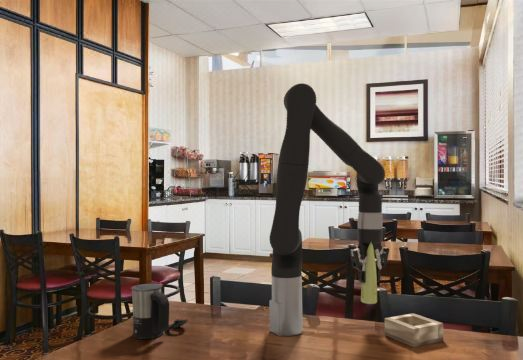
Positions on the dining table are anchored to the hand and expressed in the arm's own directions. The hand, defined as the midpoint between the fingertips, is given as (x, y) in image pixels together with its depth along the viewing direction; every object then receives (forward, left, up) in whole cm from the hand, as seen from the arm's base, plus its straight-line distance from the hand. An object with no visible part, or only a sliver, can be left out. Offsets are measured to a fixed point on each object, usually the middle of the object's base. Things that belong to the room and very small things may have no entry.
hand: (369, 281), depth 154 cm
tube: (0, 0, -7) cm, 7 cm away
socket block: (+5, -13, -15) cm, 20 cm away
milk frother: (-58, +28, -15) cm, 67 cm away
